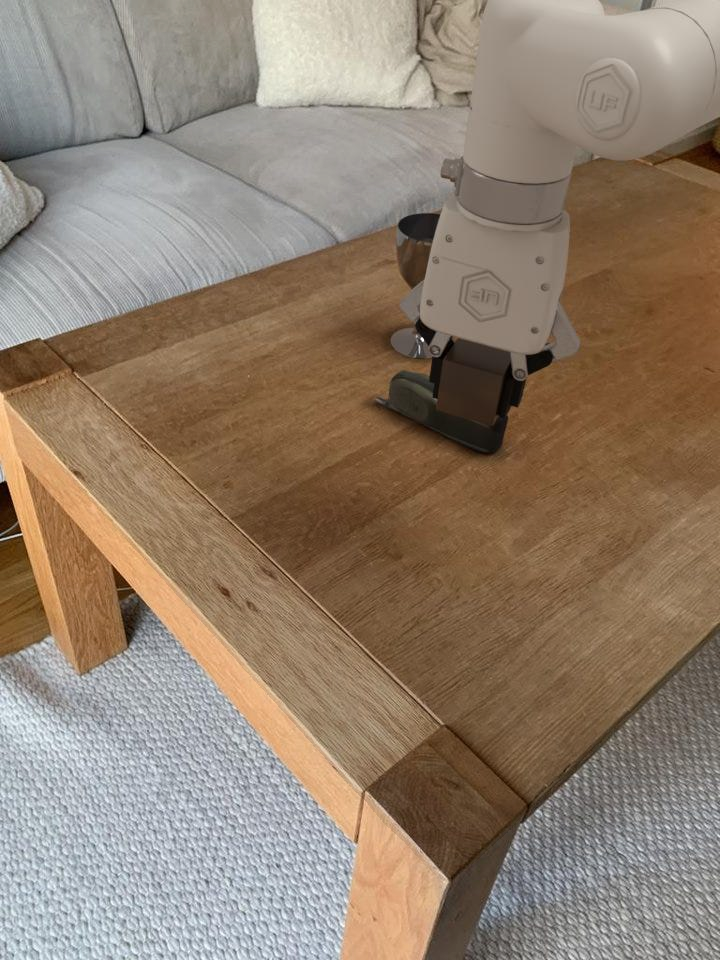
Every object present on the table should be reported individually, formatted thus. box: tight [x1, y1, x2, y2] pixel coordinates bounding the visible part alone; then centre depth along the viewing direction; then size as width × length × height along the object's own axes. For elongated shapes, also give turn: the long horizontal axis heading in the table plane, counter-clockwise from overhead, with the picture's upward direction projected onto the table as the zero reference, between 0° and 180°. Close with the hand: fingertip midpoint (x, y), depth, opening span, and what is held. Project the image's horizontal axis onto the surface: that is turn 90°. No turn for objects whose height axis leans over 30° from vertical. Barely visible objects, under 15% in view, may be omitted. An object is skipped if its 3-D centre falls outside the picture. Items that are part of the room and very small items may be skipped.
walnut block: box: [436, 337, 512, 426], centre depth 68 cm, size 5×5×5 cm
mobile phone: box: [374, 369, 509, 454], centre depth 87 cm, size 5×3×15 cm
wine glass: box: [389, 212, 441, 360], centre depth 97 cm, size 8×8×15 cm
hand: (473, 398), depth 69 cm, fingers closed on walnut block, 5 cm apart
